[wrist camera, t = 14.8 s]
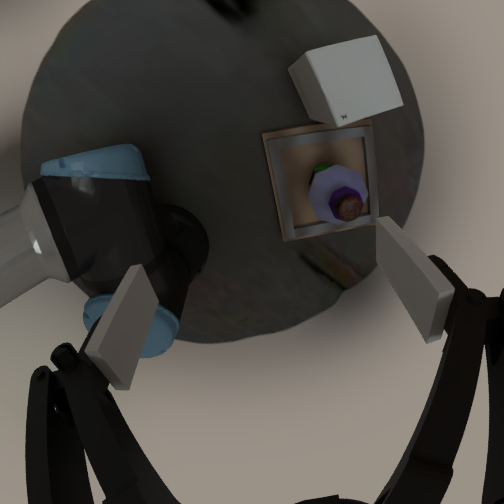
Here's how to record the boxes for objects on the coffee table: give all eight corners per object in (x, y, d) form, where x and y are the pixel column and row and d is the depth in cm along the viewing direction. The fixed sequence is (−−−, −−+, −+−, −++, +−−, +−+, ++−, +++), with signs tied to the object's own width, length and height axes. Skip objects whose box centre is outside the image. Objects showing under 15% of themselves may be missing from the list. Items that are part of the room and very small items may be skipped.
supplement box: (360, 102, 39) (406, 108, 26) (309, 120, 41) (337, 130, 27) (338, 50, 35) (378, 33, 22) (285, 67, 36) (303, 51, 23)
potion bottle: (324, 143, 40) (351, 159, 30) (362, 179, 43) (395, 206, 33) (287, 184, 44) (300, 214, 33) (327, 217, 46) (349, 254, 36)
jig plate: (282, 236, 50) (284, 245, 47) (261, 132, 41) (262, 134, 39) (374, 219, 49) (381, 226, 46) (366, 117, 40) (374, 119, 37)
